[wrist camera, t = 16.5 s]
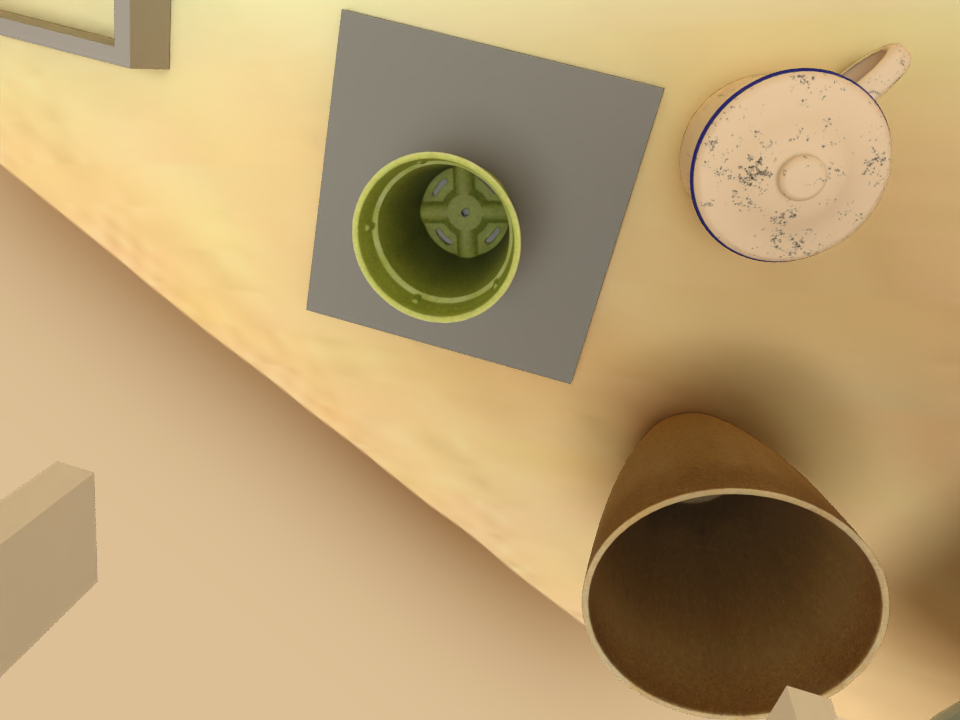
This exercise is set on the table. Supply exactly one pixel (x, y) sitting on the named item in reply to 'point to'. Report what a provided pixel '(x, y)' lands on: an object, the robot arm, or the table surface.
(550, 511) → the table surface
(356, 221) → the plant pot
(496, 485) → the table surface
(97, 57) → the rock display frame
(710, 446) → the plant pot
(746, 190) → the teacup with lid
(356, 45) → the charcoal mat
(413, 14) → the table surface
